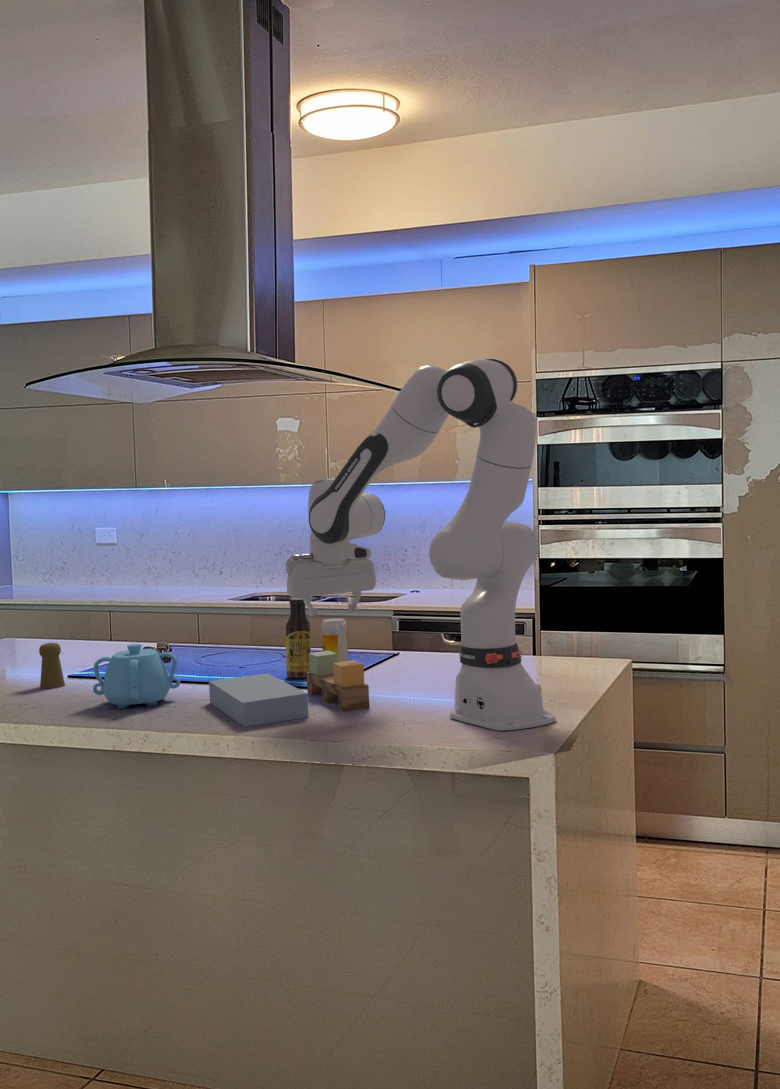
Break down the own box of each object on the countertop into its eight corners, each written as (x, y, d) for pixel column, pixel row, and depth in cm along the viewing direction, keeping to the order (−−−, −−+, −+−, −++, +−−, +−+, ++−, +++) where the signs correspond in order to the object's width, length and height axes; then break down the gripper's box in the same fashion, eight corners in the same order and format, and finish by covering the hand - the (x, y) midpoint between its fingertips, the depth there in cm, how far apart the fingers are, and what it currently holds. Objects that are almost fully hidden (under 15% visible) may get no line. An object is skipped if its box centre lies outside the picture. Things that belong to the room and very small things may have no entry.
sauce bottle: (289, 680, 251) (284, 600, 250) (284, 676, 257) (280, 598, 256) (315, 677, 253) (311, 598, 251) (309, 673, 259) (305, 596, 257)
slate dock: (308, 717, 212) (307, 693, 212) (243, 726, 207) (242, 702, 206) (269, 694, 236) (267, 673, 236) (210, 702, 230) (208, 681, 230)
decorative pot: (188, 700, 235) (185, 641, 234) (130, 714, 223) (126, 652, 222) (146, 692, 245) (142, 636, 245) (87, 705, 233) (84, 647, 232)
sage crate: (338, 673, 232) (337, 653, 232) (317, 675, 230) (316, 656, 230) (330, 669, 237) (329, 650, 236) (309, 672, 235) (308, 653, 234)
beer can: (336, 677, 253) (333, 617, 252) (354, 679, 249) (351, 618, 248) (319, 681, 248) (316, 620, 247) (337, 684, 244) (334, 622, 243)
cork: (57, 688, 254) (54, 645, 253) (35, 688, 255) (32, 645, 255) (69, 683, 260) (66, 641, 259) (48, 683, 261) (45, 641, 260)
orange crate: (364, 684, 219) (363, 663, 218) (342, 687, 216) (341, 666, 216) (355, 680, 223) (354, 660, 223) (334, 683, 221) (333, 663, 221)
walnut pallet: (369, 707, 218) (368, 684, 218) (343, 711, 216) (342, 688, 215) (331, 689, 238) (330, 668, 238) (307, 693, 236) (306, 671, 235)
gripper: (290, 556, 217) (293, 620, 219) (377, 549, 226) (380, 611, 227) (280, 554, 223) (284, 617, 224) (366, 547, 232) (368, 607, 233)
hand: (333, 614), depth 226 cm, fingers open, 8 cm apart
